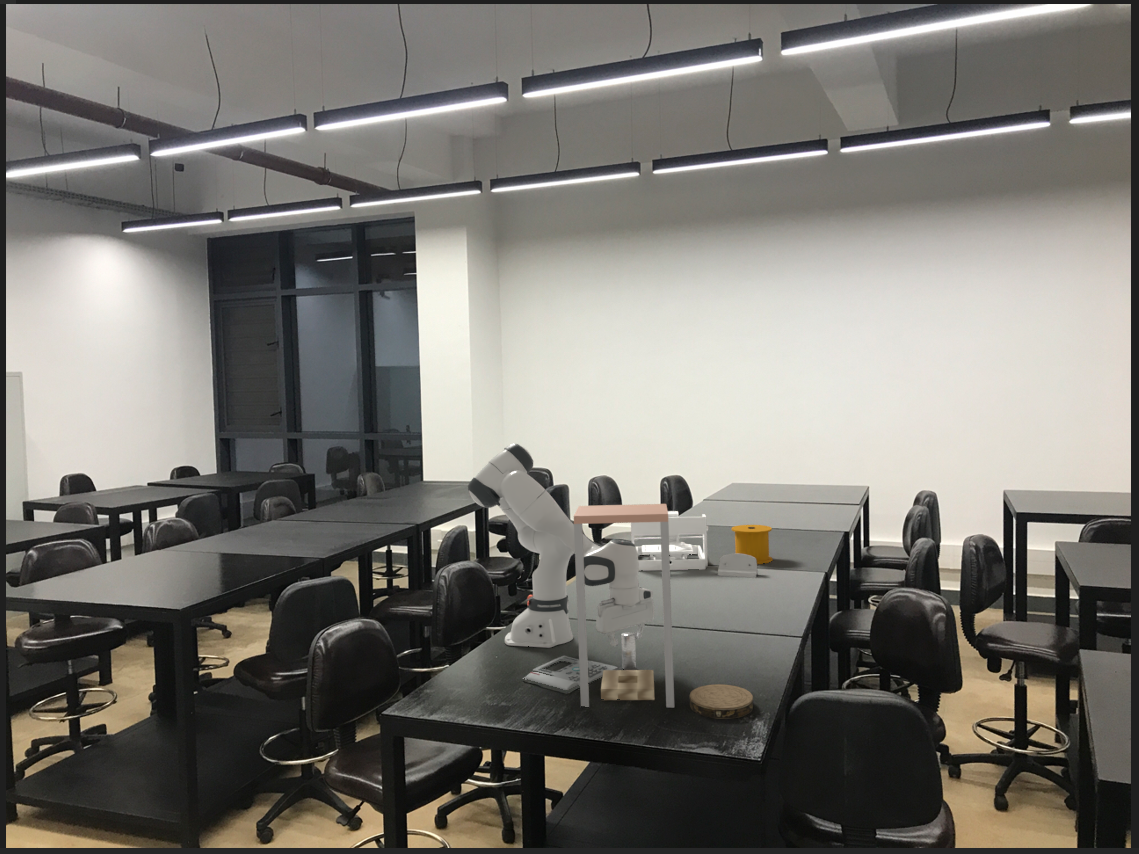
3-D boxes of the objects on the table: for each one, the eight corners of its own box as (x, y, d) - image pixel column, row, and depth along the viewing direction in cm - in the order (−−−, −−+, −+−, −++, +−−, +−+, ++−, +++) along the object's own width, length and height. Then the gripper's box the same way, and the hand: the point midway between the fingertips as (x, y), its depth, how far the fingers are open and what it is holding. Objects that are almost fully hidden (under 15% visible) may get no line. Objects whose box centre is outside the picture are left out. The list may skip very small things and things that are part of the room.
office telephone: (567, 688, 220) (513, 673, 233) (567, 697, 220) (513, 682, 233) (617, 662, 238) (565, 649, 251) (618, 671, 238) (565, 658, 251)
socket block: (601, 700, 216) (600, 688, 216) (603, 680, 230) (603, 670, 230) (654, 699, 215) (654, 688, 214) (653, 680, 228) (653, 669, 228)
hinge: (716, 575, 347) (717, 551, 349) (718, 576, 351) (719, 553, 354) (756, 577, 341) (757, 553, 343) (758, 578, 345) (758, 555, 348)
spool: (724, 559, 378) (723, 526, 377) (755, 554, 385) (755, 522, 384) (748, 566, 361) (747, 532, 361) (780, 561, 369) (780, 528, 368)
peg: (622, 670, 237) (621, 636, 237) (622, 665, 241) (621, 632, 241) (636, 670, 237) (634, 636, 236) (636, 665, 241) (634, 632, 240)
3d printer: (706, 554, 390) (702, 502, 389) (712, 569, 358) (708, 512, 357) (633, 559, 393) (629, 507, 392) (632, 574, 362) (628, 518, 360)
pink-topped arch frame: (581, 707, 211) (573, 516, 209) (585, 683, 228) (578, 505, 225) (674, 707, 209) (668, 513, 206) (671, 683, 226) (666, 503, 223)
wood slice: (764, 704, 210) (764, 693, 209) (732, 725, 198) (732, 713, 198) (711, 690, 220) (710, 679, 220) (677, 709, 208) (677, 698, 208)
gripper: (604, 604, 228) (606, 652, 229) (657, 590, 241) (658, 636, 242) (590, 600, 233) (592, 647, 234) (642, 586, 246) (644, 632, 247)
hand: (626, 641), depth 238 cm, fingers open, 8 cm apart
